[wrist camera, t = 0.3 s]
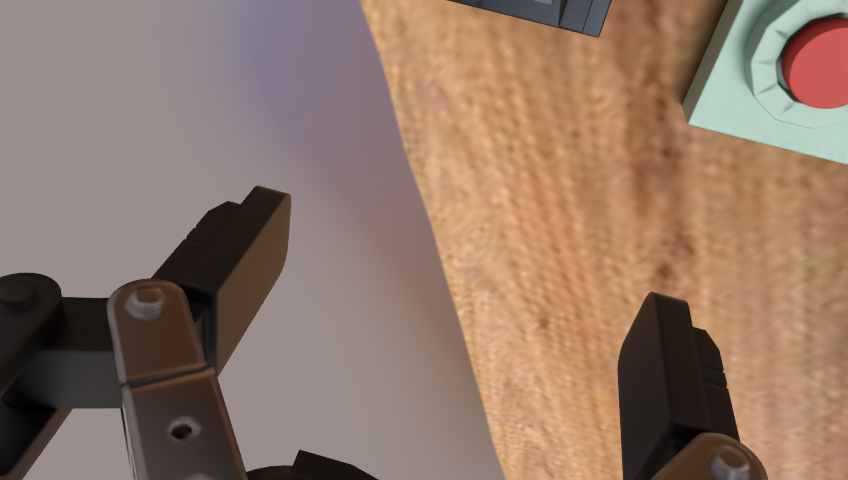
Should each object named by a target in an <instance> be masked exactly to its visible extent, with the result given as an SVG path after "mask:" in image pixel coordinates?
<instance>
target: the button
mask: <svg viewBox="0 0 848 480" xmlns="http://www.w3.org/2000/svg"><path fill="white" fill-rule="evenodd" d="M782 75H783V78H784V80H785V82H786V84H787V85H788V87H789V88H790V90H791V91H792V93H793V94H794V95H795V97H796V98H797V99H798V100H799V101H801V102H802V103H804V104H806V105H808V106H810V107H813V108H818V109H832V108H838V107H842V106H845V105H848V19H845V18H830V19H825V20H822V21H819V22H816V23H814V24H812V25H810V26H808V27H807V28H805V29H804V30H802V31H801V32H800V33H799V34H798V35H796V37H795V38H794V39H793V40H792V41H791V42H790V44H789V45H788V47H787V49H786V51H785V53H784V56H783V59H782Z"/></svg>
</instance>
